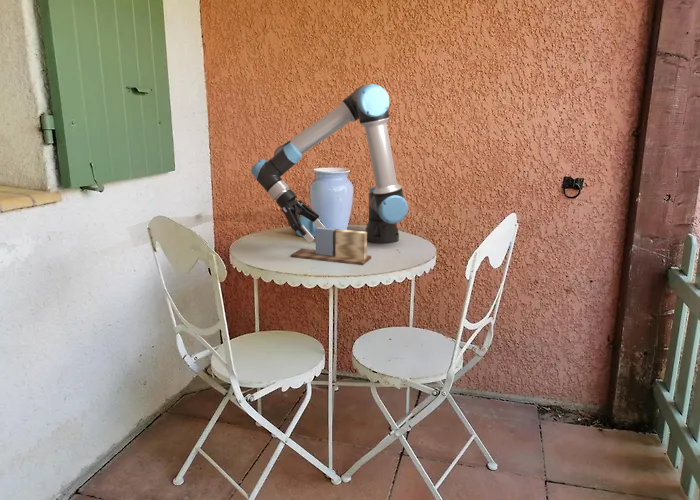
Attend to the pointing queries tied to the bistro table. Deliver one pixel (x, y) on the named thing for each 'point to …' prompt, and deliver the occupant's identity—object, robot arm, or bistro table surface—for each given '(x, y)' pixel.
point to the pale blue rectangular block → (325, 241)
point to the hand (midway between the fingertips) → (319, 237)
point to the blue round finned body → (307, 226)
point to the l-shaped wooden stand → (342, 249)
